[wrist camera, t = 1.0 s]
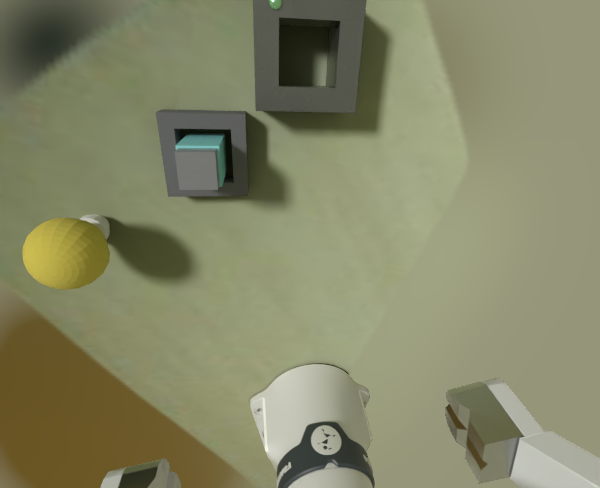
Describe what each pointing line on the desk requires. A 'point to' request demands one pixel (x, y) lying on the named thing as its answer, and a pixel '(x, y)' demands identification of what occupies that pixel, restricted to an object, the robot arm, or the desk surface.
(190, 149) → the plug
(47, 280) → the light bulb
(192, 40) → the desk surface
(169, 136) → the frame
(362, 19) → the port
